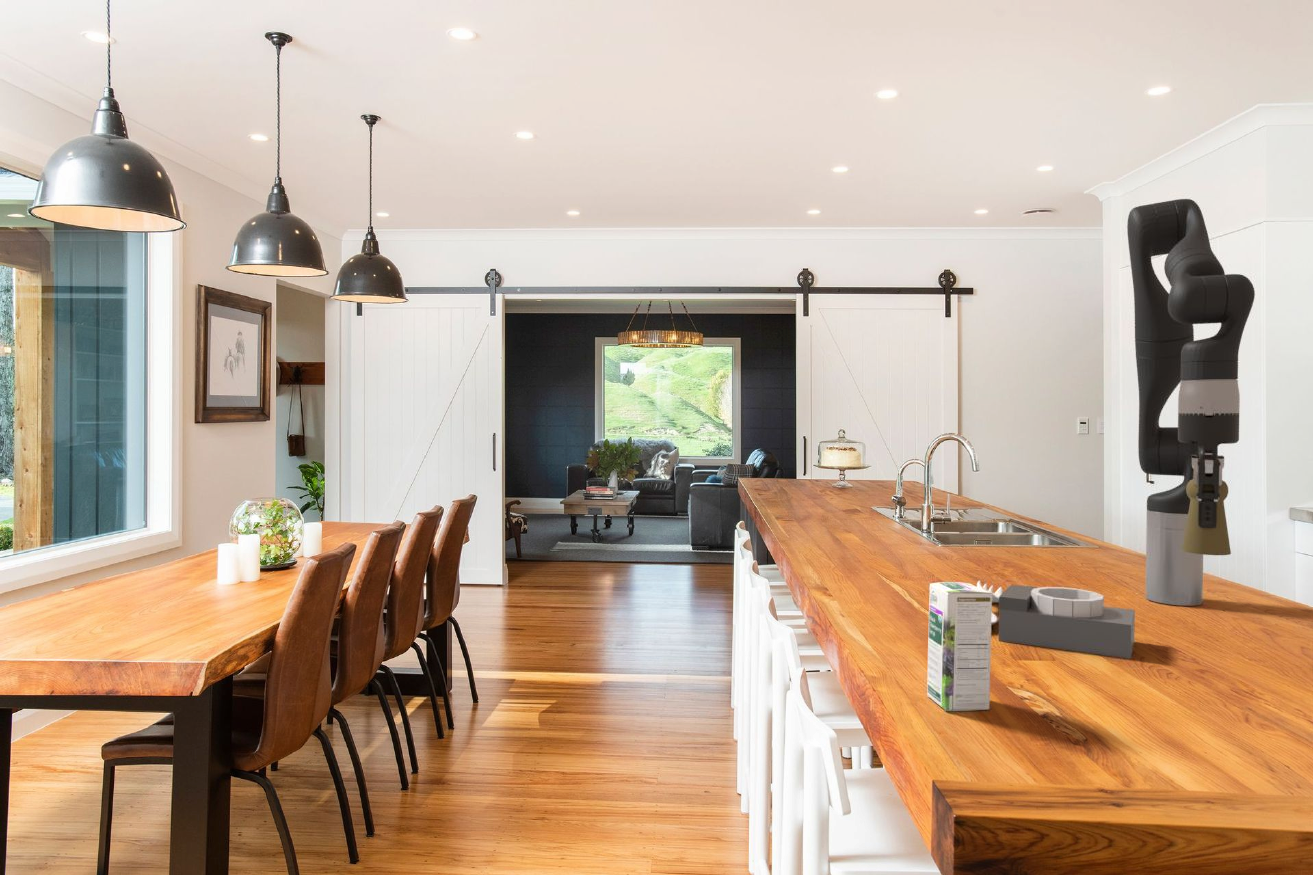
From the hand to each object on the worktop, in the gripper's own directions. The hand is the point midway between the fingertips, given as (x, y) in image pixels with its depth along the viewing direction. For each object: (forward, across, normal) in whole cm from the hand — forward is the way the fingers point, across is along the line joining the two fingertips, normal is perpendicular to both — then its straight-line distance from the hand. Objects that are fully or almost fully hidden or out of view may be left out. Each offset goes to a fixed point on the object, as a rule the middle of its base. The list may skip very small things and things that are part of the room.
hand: (1206, 524), depth 121 cm
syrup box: (+19, +42, -26) cm, 53 cm away
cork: (+4, 0, 0) cm, 4 cm away
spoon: (+20, -8, -33) cm, 39 cm away
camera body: (+19, +4, -18) cm, 27 cm away
